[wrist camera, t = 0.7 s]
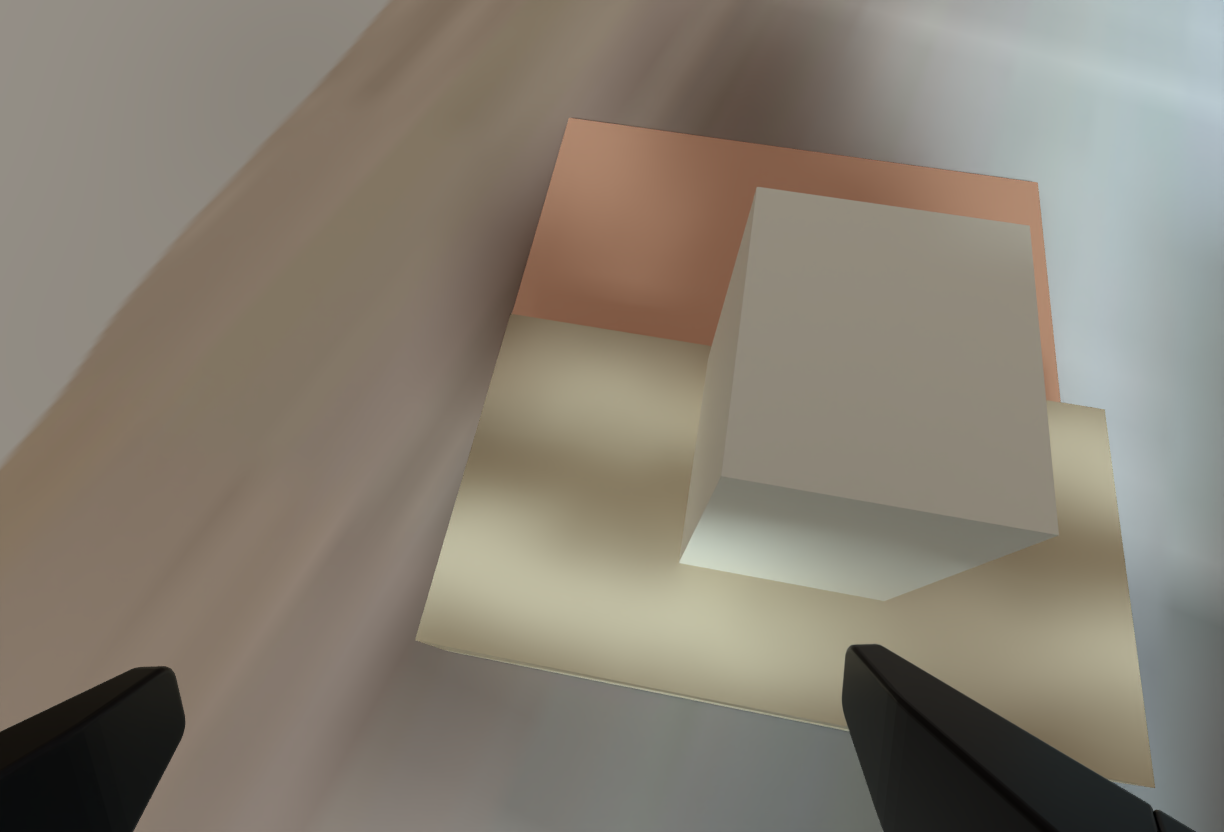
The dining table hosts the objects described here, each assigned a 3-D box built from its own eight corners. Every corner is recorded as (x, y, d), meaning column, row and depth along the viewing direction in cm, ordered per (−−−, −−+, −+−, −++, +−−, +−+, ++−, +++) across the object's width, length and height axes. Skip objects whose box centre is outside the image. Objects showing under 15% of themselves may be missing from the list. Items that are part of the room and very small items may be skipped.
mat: (1057, 445, 25) (1064, 441, 25) (503, 353, 27) (502, 348, 26) (1032, 188, 30) (1037, 182, 30) (569, 124, 32) (569, 117, 32)
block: (884, 601, 19) (1059, 535, 12) (678, 562, 19) (721, 476, 12) (887, 387, 22) (1029, 225, 14) (708, 358, 22) (757, 186, 15)
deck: (1058, 773, 21) (1154, 788, 17) (447, 650, 22) (414, 640, 18) (1031, 452, 25) (1104, 409, 21) (524, 367, 26) (510, 313, 23)
